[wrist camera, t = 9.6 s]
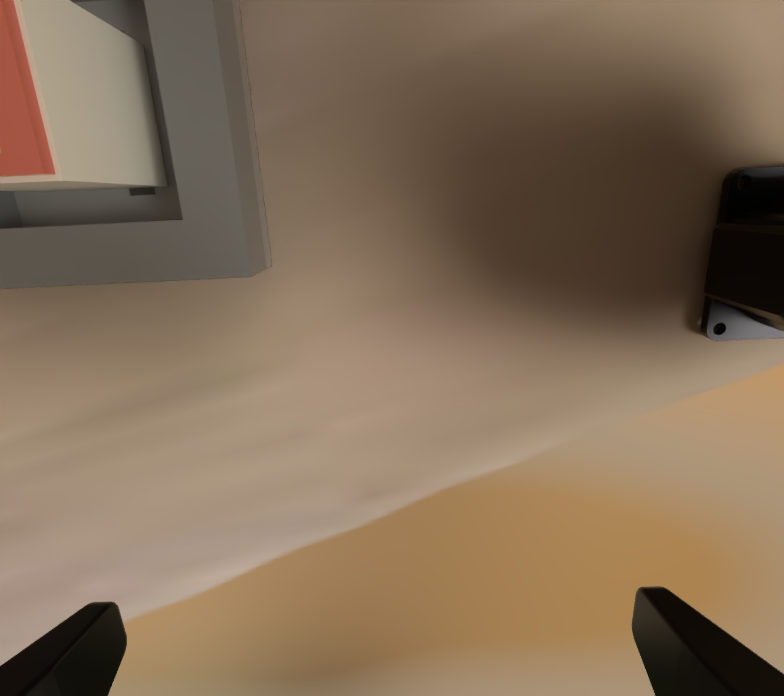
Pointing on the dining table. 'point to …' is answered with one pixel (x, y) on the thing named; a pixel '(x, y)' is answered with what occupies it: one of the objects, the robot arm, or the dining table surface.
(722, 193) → the robot arm
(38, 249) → the socket plate
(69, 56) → the plug
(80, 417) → the dining table surface
